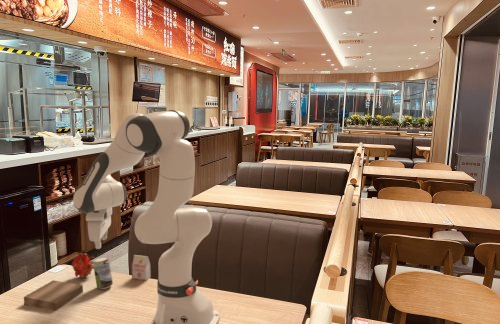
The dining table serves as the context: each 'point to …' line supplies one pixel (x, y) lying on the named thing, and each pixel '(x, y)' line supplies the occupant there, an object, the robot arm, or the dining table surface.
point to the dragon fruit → (82, 264)
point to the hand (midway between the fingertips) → (101, 243)
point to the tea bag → (141, 268)
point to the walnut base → (53, 295)
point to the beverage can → (102, 273)
